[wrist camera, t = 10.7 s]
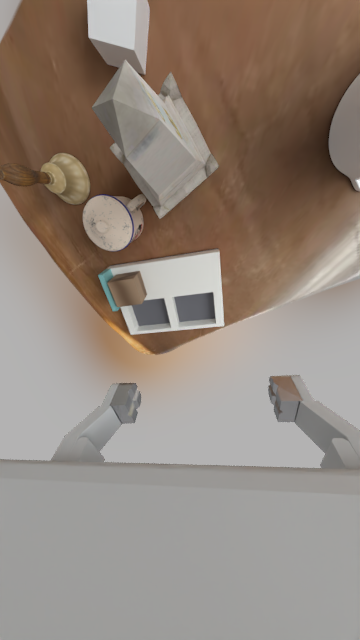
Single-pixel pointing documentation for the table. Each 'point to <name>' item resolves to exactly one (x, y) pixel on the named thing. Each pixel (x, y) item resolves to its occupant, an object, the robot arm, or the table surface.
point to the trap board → (173, 292)
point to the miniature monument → (154, 137)
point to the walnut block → (127, 289)
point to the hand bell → (53, 177)
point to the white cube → (120, 31)
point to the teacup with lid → (113, 220)
